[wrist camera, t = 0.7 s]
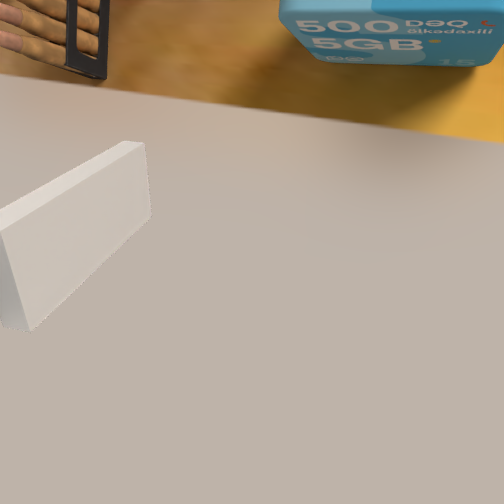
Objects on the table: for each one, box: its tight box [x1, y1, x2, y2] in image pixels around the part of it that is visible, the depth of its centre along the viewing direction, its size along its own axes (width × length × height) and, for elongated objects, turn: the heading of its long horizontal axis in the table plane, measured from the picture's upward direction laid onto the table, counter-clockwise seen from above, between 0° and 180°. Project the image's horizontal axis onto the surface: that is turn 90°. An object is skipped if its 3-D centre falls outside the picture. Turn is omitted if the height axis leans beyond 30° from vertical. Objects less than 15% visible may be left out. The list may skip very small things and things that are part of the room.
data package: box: [279, 0, 504, 67], centre depth 26 cm, size 12×4×12 cm, turn 83°
